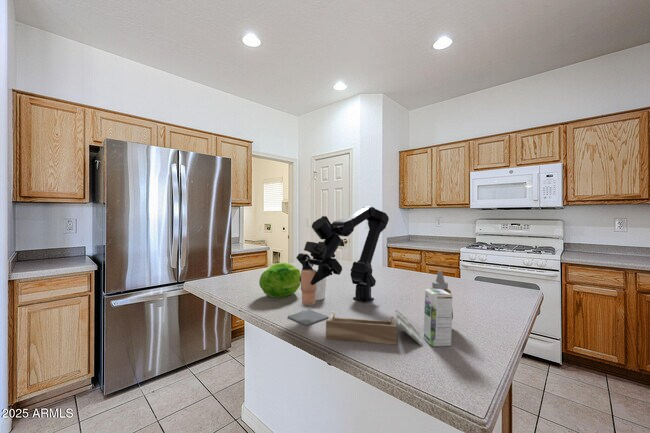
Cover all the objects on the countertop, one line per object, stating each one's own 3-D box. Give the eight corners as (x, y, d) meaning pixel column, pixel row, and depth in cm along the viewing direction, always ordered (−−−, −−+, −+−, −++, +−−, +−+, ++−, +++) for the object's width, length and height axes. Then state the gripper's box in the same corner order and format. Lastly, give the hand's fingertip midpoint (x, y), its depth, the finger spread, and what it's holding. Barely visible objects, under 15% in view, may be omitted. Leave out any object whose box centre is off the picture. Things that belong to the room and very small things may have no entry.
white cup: (324, 301, 117) (324, 277, 117) (305, 300, 118) (305, 276, 118) (327, 295, 125) (327, 273, 124) (310, 294, 126) (310, 272, 126)
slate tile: (309, 310, 105) (309, 309, 105) (328, 317, 98) (328, 316, 98) (287, 317, 98) (287, 316, 98) (306, 325, 91) (306, 324, 91)
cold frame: (332, 321, 96) (332, 304, 96) (415, 327, 92) (415, 309, 92) (325, 339, 82) (326, 320, 82) (423, 347, 78) (423, 327, 78)
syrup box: (422, 337, 83) (423, 288, 83) (442, 337, 84) (442, 288, 84) (431, 347, 78) (432, 294, 77) (452, 346, 78) (453, 293, 78)
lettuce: (281, 285, 138) (308, 293, 131) (248, 297, 118) (278, 308, 111) (284, 255, 137) (312, 263, 130) (251, 262, 117) (282, 271, 110)
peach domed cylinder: (315, 300, 101) (316, 269, 101) (316, 305, 96) (317, 272, 96) (300, 300, 101) (300, 269, 100) (300, 305, 95) (300, 272, 95)
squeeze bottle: (440, 333, 86) (441, 274, 86) (420, 324, 93) (421, 269, 93) (458, 329, 90) (459, 272, 90) (438, 320, 97) (438, 267, 97)
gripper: (300, 231, 107) (275, 264, 100) (336, 234, 94) (312, 273, 86) (315, 250, 113) (293, 283, 105) (351, 256, 100) (329, 293, 92)
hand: (305, 282), depth 97 cm, fingers closed on peach domed cylinder, 5 cm apart
